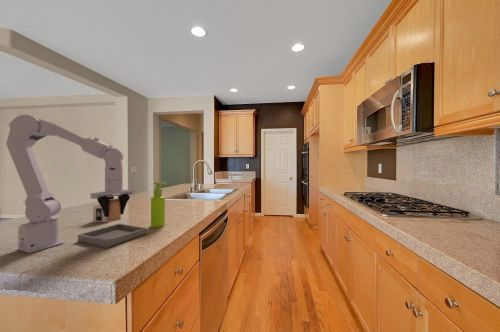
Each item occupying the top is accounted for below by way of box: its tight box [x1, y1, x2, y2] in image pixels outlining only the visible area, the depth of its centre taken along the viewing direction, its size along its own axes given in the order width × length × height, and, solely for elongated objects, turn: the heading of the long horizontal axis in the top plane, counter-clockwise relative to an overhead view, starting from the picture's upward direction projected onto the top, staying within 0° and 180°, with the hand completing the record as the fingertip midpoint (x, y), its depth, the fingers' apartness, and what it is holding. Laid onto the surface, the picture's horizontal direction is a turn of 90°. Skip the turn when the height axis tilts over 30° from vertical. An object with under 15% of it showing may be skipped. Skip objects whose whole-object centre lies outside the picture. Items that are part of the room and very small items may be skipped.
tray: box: [77, 223, 148, 250], centre depth 82 cm, size 16×16×2 cm
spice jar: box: [107, 198, 122, 222], centre depth 82 cm, size 5×5×8 cm
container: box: [92, 194, 115, 223], centre depth 107 cm, size 8×8×13 cm
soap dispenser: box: [150, 181, 167, 228], centre depth 98 cm, size 6×7×20 cm
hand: (113, 215), depth 82 cm, fingers closed on spice jar, 5 cm apart
